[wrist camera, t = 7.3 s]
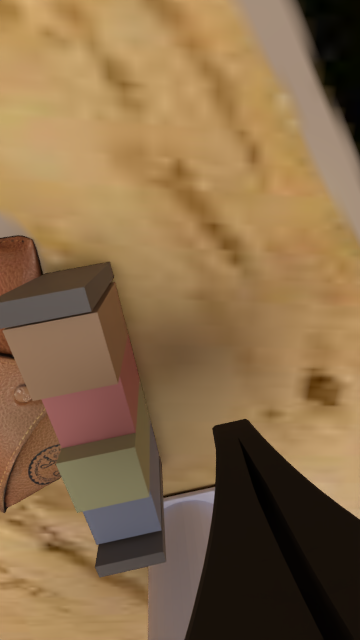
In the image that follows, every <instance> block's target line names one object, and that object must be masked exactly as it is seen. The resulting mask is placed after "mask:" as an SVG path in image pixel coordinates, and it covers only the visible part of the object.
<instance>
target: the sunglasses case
mask: <svg viewBox="0 0 360 640" xmlns="http://www.w3.org/2000/svg"><path fill="white" fill-rule="evenodd" d="M41 275H43V271H42V267H41V264H40V260H39V257H38V253H37V250H36V247H35V244H34V242H33V240H32V239H30V238H28V237H25V236H20V235H15V236H9V237H3V238H0V296H1V295H3V294H5V293H7V292H9V291H11V290H13V289H15V288H17V287H19V286H21V285H23V284H25V283H27V282H29V281H31V280H33V279H35V278H37V277H39V276H41ZM4 329H5V328H3V329H0V510H1V512H3V513H5V512H6V510H7V508H8V507H10V506H12V505H14V504H16V503H18V502H20V501H21V500H23V499H25V498H26V497H28V496H30V495H32V494H34V493H35V492H37V491H39V490H40V489H42V488H44V487H45V486H47V485H49V484H51V483H52V482H54V481H56V480H58V479H60V478H61V475H60V472H59V470H58V468H57V465H56V462H57V459H58V457H59V454H60V452H61V449H62V448H61V445H60V443H59V440H58V438H57V436H56V433H55V431H54V428H53V426H52V424H51V421H50V419H49V416H48V414H47V412H46V409H45V407H44V404H43V402H42V400H36V401H32V398H31V396H30V394H29V391H28V389H27V387H26V384H25V382H24V380H23V377H22V375H21V373H20V370H19V368H18V366H17V363H16V361H15V359H14V356H13V354H12V352H11V349H10V347H9V345H8V343H7V340H6V338H5V336H4V333H3V331H2V330H4Z"/></svg>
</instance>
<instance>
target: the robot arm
mask: <svg viewBox="0 0 360 640" xmlns="http://www.w3.org/2000/svg"><path fill="white" fill-rule="evenodd" d="M212 429H213V435H214V441H215V447H216V482H215V487H212V488H207V489H203V490H198V491H193V492H189V493H184V494H180V495H175V496H171V497H166V498H163V502H164V523H165V545H166V562H165V563H161V564H157V565H152V566H148V640H360V519H358V518H357V517H356V516H354V515H353V514H351V513H350V512H349V511H347V510H346V509H344V508H343V507H342V506H340V505H339V504H338V503H336V502H335V501H334V500H332V499H331V498H330V497H329V496H327V495H326V494H325V493H323V492H322V491H321V490H320V489H318V488H317V487H316V486H315V485H314V484H312V483H311V482H310V481H309V480H308V479H307V478H305V477H304V476H303V475H302V474H301V473H300V472H298V471H297V470H296V469H295V468H294V467H293V466H292V465H291V464H290V463H289V462H288V461H286V460H285V459H284V458H283V457H282V456H281V455H280V454H279V453H278V452H277V451H276V450H275V449H274V448H273V447H272V446H271V445H270V444H269V443H268V442H267V441H266V440H265V439H264V438H263V437H262V435H261V434H260V433H259V432H258V431H257V430H256V429H255V428H254V426H253V425H252V424H251V423H250V422H249V421H248V420H247V419H243V420H238V421H234V422H229V423H225V424H220V425H215V426H214V427H213V428H212Z"/></svg>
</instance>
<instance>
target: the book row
mask: <svg viewBox="0 0 360 640" xmlns="http://www.w3.org/2000/svg"><path fill="white" fill-rule="evenodd" d="M113 278H114V276H113V272H112V269H111V265H110V262H105V263H100V264H95V265H89V266H84V267H78V268H73V269H67V270H62V271H57V272H51V273H46V274H43V275H41V276H39V277H37V278H35V279H33V280H31V281H29V282H27V283H25V284H23V285H21V286H19V287H17V288H15V289H13V290H11V291H9V292H7V293H5V294H3V295H1V296H0V329H3V328H5V329H4V330H2V331H3V333H4V336H5V338H6V340H7V343H8V345H9V347H10V349H11V352H12V354H13V356H14V359H15V361H16V363H17V366H18V368H19V370H20V373H21V375H22V377H23V380H24V382H25V384H26V387H27V389H28V391H29V394H30V396H31V398H32V401H36V400H42V402H43V404H44V407H45V409H46V412H47V414H48V416H49V419H50V421H51V424H52V426H53V428H54V431H55V433H56V436H57V438H58V440H59V443H60V445H61V448H62V449H61V452H60V454H59V457H58V459H57V462H56V465H57V468H58V470H59V472H60V475H61V477H62V479H63V481H64V484H65V486H66V488H67V491H68V493H69V495H70V497H71V500H72V502H73V504H74V507H75V509H76V511H77V513H78V512H83V514H84V516H85V518H86V521H87V523H88V525H89V528H90V530H91V532H92V535H93V537H94V539H95V542H96V544H97V545H98V544H99V546H98V552H97V558H96V564H95V568H96V570H97V573H98V575H99V577H104V576H108V575H113V574H117V573H121V572H126V571H130V570H135V569H139V568H143V567H148V566H152V565H157V564H161V563H165V562H166V545H165V523H164V502H163V480H162V464H161V460H160V456H159V452H158V448H157V444H156V440H155V436H154V432H153V429H152V425H151V421H150V417H149V413H148V409H147V405H146V401H145V397H144V393H143V390H142V386H141V382H140V378H139V374H138V370H137V366H136V362H135V358H134V354H133V351H132V347H131V343H130V339H129V335H128V331H127V327H126V323H125V319H124V315H123V312H122V308H121V304H120V300H119V296H118V292H117V288H116V284H115V282H113V283H111V281H112V279H113Z"/></svg>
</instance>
